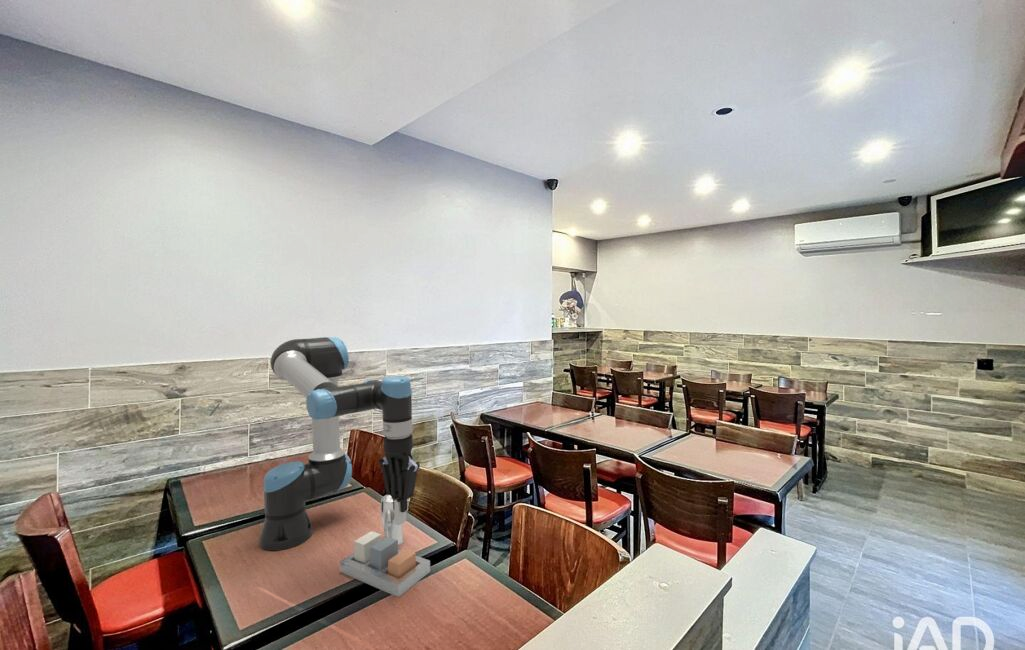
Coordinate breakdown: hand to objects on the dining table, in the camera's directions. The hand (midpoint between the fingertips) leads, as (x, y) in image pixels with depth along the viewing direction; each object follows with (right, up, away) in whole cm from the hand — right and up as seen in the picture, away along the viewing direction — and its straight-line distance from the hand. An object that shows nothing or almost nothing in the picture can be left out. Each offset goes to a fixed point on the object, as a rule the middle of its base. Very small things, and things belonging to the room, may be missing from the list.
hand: (400, 522), depth 114 cm
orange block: (0, -14, 0) cm, 14 cm away
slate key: (-5, -12, +4) cm, 14 cm away
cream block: (-11, -13, +7) cm, 18 cm away
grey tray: (-5, -16, +4) cm, 18 cm away
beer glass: (-7, -16, +19) cm, 26 cm away
